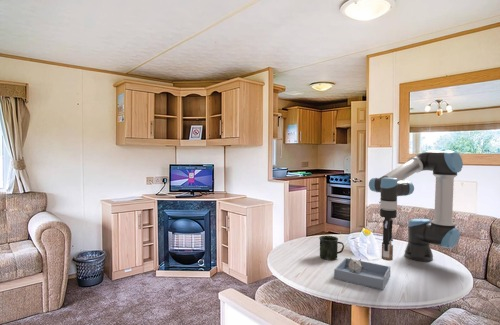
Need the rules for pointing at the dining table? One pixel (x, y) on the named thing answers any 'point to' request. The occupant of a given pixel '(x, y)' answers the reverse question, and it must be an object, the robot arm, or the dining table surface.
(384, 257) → the walnut cylinder
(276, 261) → the dining table surface
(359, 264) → the game die
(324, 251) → the mug
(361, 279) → the tote
